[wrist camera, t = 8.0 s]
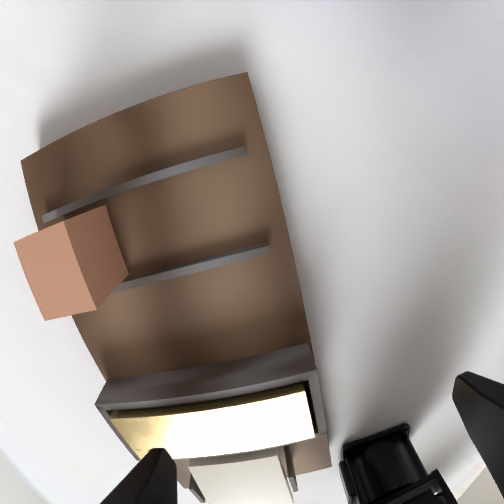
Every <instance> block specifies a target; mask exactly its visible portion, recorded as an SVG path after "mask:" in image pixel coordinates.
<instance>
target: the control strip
mask: <svg viewBox="0 0 504 504" xmlns="http://www.w3.org/2000/svg"><path fill="white" fill-rule="evenodd" d="M21 165H22V170H23V174H24V179H25V183H26V187H27V191H28V195H29V199H30V203H31V206H32V210H33V213H34V217H35V220H36V224H37V227H38V230H39V231H40V230H43V229H45V228H47V227H50V226H52V225H55V224H57V223H60V222H62V221H65V220H67V219H70V218H72V217H75V216H77V215H80V214H82V213H85V212H88V211H90V210H93V209H96V208H98V207H101V206H104V205H106V208H107V211H108V214H109V218H110V221H111V224H112V227H113V230H114V233H115V236H116V239H117V242H118V245H119V248H120V251H121V254H122V257H123V260H124V263H125V265H126V268H127V271H128V273H129V274H128V275H127V276H126V277H125V279H124V280H123V281H122V282H121V283H120V284H119V285H118V286H117V287H116V288H115V290H114V291H113V292H112V293H111V294H110V295H109V296H108V297H107V299H106V300H105V301H104V302H103V303H102V304H101V305H100V307H99V308H98V309H97V310H93V311H88V312H84V313H79V314H74V315H72V317H73V320H74V322H75V324H76V326H77V328H78V330H79V332H80V334H81V336H82V338H83V340H84V342H85V344H86V346H87V348H88V350H89V352H90V353H91V355H92V357H93V359H94V361H95V363H96V364H97V366H98V368H99V370H100V371H101V373H102V375H103V377H104V378H105V380H106V383H105V385H104V387H103V389H102V391H101V393H100V395H99V397H98V399H97V401H96V403H95V406H96V407H97V409H98V410H99V412H100V413H101V415H102V416H103V417H104V419H105V420H106V422H107V423H108V424H109V426H110V427H111V428H112V430H113V431H114V432H115V434H116V435H117V436H118V438H119V439H120V440H121V442H122V443H123V444H124V445H125V447H126V448H127V449H128V450H129V452H130V453H131V454H132V455H133V456H134V458H135V459H136V460H137V461H140V460H141V459H140V458H139V457H138V456H137V455H136V453H135V452H134V451H133V450H132V448H131V447H130V446H129V445H128V443H127V442H126V441H125V439H124V438H123V437H122V435H121V434H120V433H119V431H118V430H117V429H116V427H115V426H114V425H113V423H112V422H111V420H110V416H111V414H112V412H113V410H121V409H136V408H149V407H159V406H169V405H178V404H186V403H193V402H200V401H207V400H214V399H220V398H226V397H231V396H237V395H242V394H247V393H252V392H257V391H262V390H267V389H271V388H276V387H280V386H284V385H289V384H293V383H297V382H301V381H302V382H303V386H304V389H305V393H306V398H307V403H308V407H309V412H310V417H311V422H312V426H313V431H314V436H315V437H313V438H309V439H304V440H300V441H296V442H291V443H287V444H282V445H277V446H272V447H267V448H261V449H255V450H249V451H243V452H236V453H228V454H220V455H211V456H200V457H188V458H173V460H174V461H175V463H176V466H177V481H178V482H179V483H180V484H181V485H182V486H183V487H184V488H189V490H190V491H191V492H192V493H193V494H194V495H195V496H196V498H197V499H198V500H199V501H200V502H201V503H205V497H204V496H203V494H202V492H201V490H200V488H199V487H198V485H197V483H196V481H195V479H194V477H193V476H192V474H191V472H190V470H189V468H188V465H189V462H190V459H196V458H208V457H217V456H226V455H234V454H241V453H248V452H254V451H260V450H266V449H271V448H276V447H277V448H278V451H279V455H280V458H281V461H282V464H283V467H284V471H285V474H286V477H288V478H289V481H290V483H291V486H292V488H293V491H294V492H296V491H298V488H297V482H296V476H295V475H299V474H304V473H308V472H312V471H316V470H320V469H324V468H328V467H332V464H331V458H330V451H329V444H328V438H327V435H328V433H327V427H326V421H325V414H324V408H323V402H322V396H321V391H320V385H319V379H318V373H317V369H316V366H315V362H314V356H313V351H312V346H311V340H310V335H309V330H308V325H307V320H306V315H305V310H304V305H303V300H302V295H301V290H300V285H299V281H298V276H297V271H296V267H295V262H294V257H293V253H292V248H291V244H290V239H289V235H288V231H287V226H286V222H285V218H284V213H283V209H282V205H281V200H280V196H279V192H278V188H277V184H276V180H275V176H274V172H273V168H272V164H271V160H270V156H269V152H268V148H267V144H266V140H265V136H264V132H263V128H262V125H261V121H260V117H259V113H258V110H257V106H256V102H255V99H254V95H253V91H252V88H251V84H250V80H249V77H248V73H247V72H246V73H241V74H237V75H233V76H228V77H224V78H220V79H216V80H213V81H209V82H205V83H202V84H198V85H195V86H191V87H188V88H185V89H181V90H178V91H175V92H172V93H169V94H166V95H163V96H160V97H157V98H154V99H151V100H148V101H146V102H143V103H140V104H138V105H135V106H132V107H130V108H127V109H125V110H122V111H120V112H117V113H115V114H112V115H110V116H108V117H105V118H103V119H101V120H98V121H96V122H94V123H92V124H90V125H87V126H85V127H83V128H81V129H79V130H77V131H75V132H73V133H71V134H69V135H67V136H65V137H63V138H61V139H59V140H57V141H55V142H53V143H51V144H49V145H47V146H46V147H44V148H42V149H40V150H38V151H37V152H35V153H33V154H31V155H30V156H28V157H26V158H25V159H23V160H21Z"/></svg>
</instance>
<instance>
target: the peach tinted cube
mask: <svg viewBox="0 0 504 504" xmlns="http://www.w3.org/2000/svg"><path fill="white" fill-rule="evenodd" d="M14 245H15V248H16V251H17V254H18V257H19V260H20V262H21V265H22V268H23V270H24V273H25V276H26V278H27V281H28V283H29V286H30V288H31V291H32V293H33V295H34V298H35V300H36V302H37V304H38V307H39V309H40V311H41V313H42V315H43V318H44V320H45V321H46V320H51V319H56V318H60V317H65V316H70V315H74V314H79V313H84V312H88V311H93V310H97V309H98V308H99V307H100V305H101V304H102V303H103V302H104V301H105V300H106V299H107V297H108V296H109V295H110V294H111V293H112V292H113V291H114V290H115V288H116V287H117V286H118V285H119V284H120V283H121V282H122V281H123V280H124V279H125V277H126V276H127V275H128V274H129V273H128V271H127V268H126V265H125V263H124V260H123V257H122V254H121V251H120V248H119V245H118V242H117V239H116V236H115V233H114V230H113V227H112V224H111V221H110V218H109V214H108V211H107V208H106V205H104V206H101V207H98V208H96V209H93V210H90V211H88V212H85V213H82V214H80V215H77V216H75V217H72V218H70V219H67V220H65V221H62V222H60V223H57V224H55V225H52V226H50V227H47V228H45V229H43V230H40V231H38V232H36V233H33V234H31V235H29V236H27V237H24V238H22V239H20V240H18V241H16V242H14Z"/></svg>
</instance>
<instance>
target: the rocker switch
mask: <svg viewBox="0 0 504 504" xmlns="http://www.w3.org/2000/svg"><path fill="white" fill-rule="evenodd" d="M188 468H189V470H190V472H191V474H192V476H193V477H194V479H195V481H196V483H197V485H198V487H199V488H200V490H201V492H202V494H203V496H204V497H205V499H206V501H207V502H208V504H294V503H293V495H292V492H291V489H290V486H289V483H288V480H287V477H286V474H285V471H284V467H283V464H282V461H281V458H280V455H279V451H278V448H277V447H276V448H271V449H266V450H260V451H254V452H248V453H241V454H234V455H226V456H217V457H208V458H196V459H190V462H189V465H188Z"/></svg>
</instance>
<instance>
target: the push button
mask: <svg viewBox="0 0 504 504" xmlns="http://www.w3.org/2000/svg"><path fill="white" fill-rule="evenodd" d="M110 420H111V422H112V423H113V425H114V426H115V427H116V429H117V430H118V431H119V433H120V434H121V435H122V437H123V438H124V439H125V441H126V442H127V443H128V445H129V446H130V447H131V448H132V450H133V451H134V452H135V453H136V455H137V456H138V457H139V458H140V459H142V458H143V457H144V456H145V455H146V454H147V453H148V452H149V450H150V449H152V448H165V449H166V450H167V451H168V453H169V454H170V455H171V457H172V458H188V457H200V456H211V455H220V454H228V453H236V452H243V451H249V450H255V449H261V448H267V447H272V446H277V445H282V444H287V443H291V442H296V441H300V440H304V439H309V438H313V437H315V436H314V431H313V426H312V422H311V417H310V412H309V407H308V403H307V398H306V393H305V389H304V386H303V382H302V381H301V382H297V383H293V384H289V385H284V386H280V387H276V388H271V389H267V390H262V391H257V392H252V393H247V394H242V395H237V396H231V397H226V398H220V399H214V400H207V401H200V402H193V403H186V404H178V405H169V406H159V407H149V408H136V409H121V410H113V412H112V414H111V416H110Z"/></svg>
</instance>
